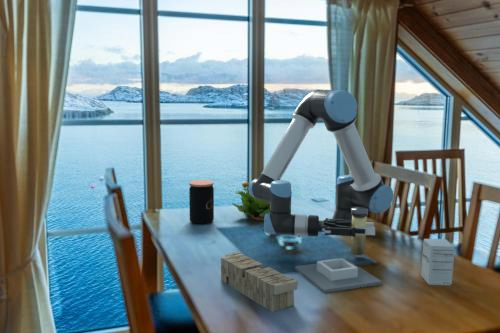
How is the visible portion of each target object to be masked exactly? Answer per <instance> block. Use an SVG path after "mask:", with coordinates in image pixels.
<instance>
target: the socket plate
mask: <svg viewBox="0 0 500 333" xmlns="http://www.w3.org/2000/svg"><path fill="white" fill-rule="evenodd" d="M294 270H295V271H296V272H297V273H299V274H300V275H301V276H302V277H304V278H305V279H306V280H307V281H309V282H310V283H311V284H312V285H313V286H314V287H316V288H317V289H318V290H320V292H322V293H323V294H327V293H333V292H339V291H348V290H353V289H360V287H361V288H366V287H367V286H368V287H373V286H380V285H382V284H383V280H381V279H379V278H378V277H376V276H374V275H372V274H371V273H369V271H366V269H363V268H361V267H360V266H358V265H357V264H355V263H353V262H352V261H351V260H348V259H344V258H343V257H341V258H332V259H325V260H318V261H316V263H311V264H303V265H295V266H294Z"/></svg>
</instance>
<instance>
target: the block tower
mask: <svg viewBox="0 0 500 333" xmlns="http://www.w3.org/2000/svg"><path fill="white" fill-rule="evenodd" d="M220 272H221V274H220V280H221V281H222V282H223V283H225V284H228V286H230V287H231V288H233V289H235V290H236V291H237V292H239V293H241V294H242V295H244V296H246V297H247V298H249V299H250V300H252V301H253V302H255V303H257V304H258V305H260V306H262V307H263V308H265V309H267V310H269V311H270V312H272V313H273V312H276V311H280V310H283V309H286V308H289V307H292V306H295V291H297V290H298V286H299V284H298V283H299V281H298V280H296V279H294V278H293V277H290V276H287V275H285V274H283V273H282V272H279V271H278V270H276V269H273V268H272V267H264V268H263V263H262V262H259V261H257V260H255V259H254V258H251V257H249V256H247V255H246V254H243V253H241V252H240V251H237V252H232V253H228V254H225V256H222V257H220Z"/></svg>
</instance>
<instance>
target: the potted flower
mask: <svg viewBox="0 0 500 333" xmlns="http://www.w3.org/2000/svg"><path fill="white" fill-rule="evenodd" d="M250 183H251V182H250ZM250 183H249V182H248V181H246V182H244V183H241V186H242V187H243V188H242V190H243V191H242V190H239V189H238V190H237V191H235V194H236V195H240V197H241V198H240V200H241V204H240V205H239V204H236V203H233V202H231V204H232V205H233V206H234V207H236V208H237V210H238V212H240V213H243V214H246V215H248V216H250V218H251V219H252V220H255V221H264V217H265V214H266V213H270V204H269V203H266V202H264V201H261V200H257V199H256V198H254V197H252V196H251V195H250V193H249V184H250ZM244 191H245V192H244ZM247 191H248V192H247Z"/></svg>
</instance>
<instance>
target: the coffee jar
mask: <svg viewBox="0 0 500 333" xmlns="http://www.w3.org/2000/svg"><path fill="white" fill-rule="evenodd" d="M214 189H215V188H214V181H212V180H208V179H207V180H205V179H202V180H200V179H199V180H191V181H189V190H188V191H189V193H188V196H189V197H188V198H189V222H190V223H191V224H192V225H194V226H195V225H196V226H206V225H211V224H212V223H213V222H214V220H215V215H214V214H215V213H214V212H215V207H214V206H215V203H214V202H215V190H214Z"/></svg>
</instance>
